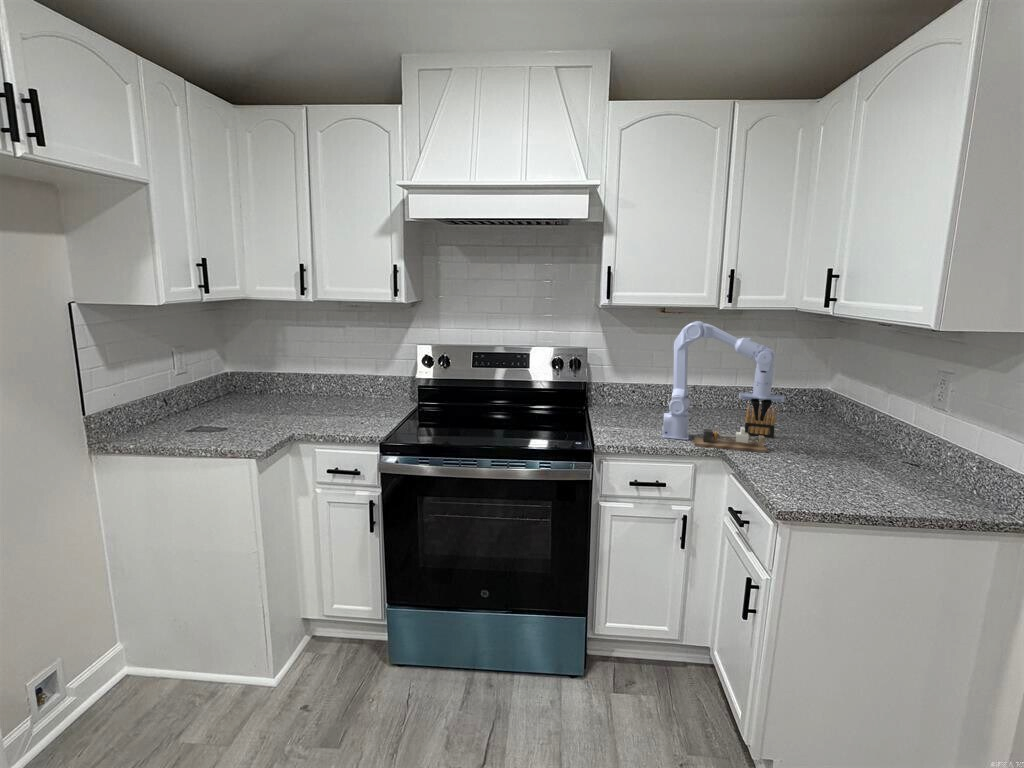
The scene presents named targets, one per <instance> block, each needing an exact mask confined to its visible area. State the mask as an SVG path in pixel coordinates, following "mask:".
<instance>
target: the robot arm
mask: <svg viewBox="0 0 1024 768" xmlns="http://www.w3.org/2000/svg"><path fill="white" fill-rule="evenodd" d="M701 338H703V339H711V338H712V339H715V340H717V341H720V342H722V343H724V344H727V345H729V346H731V347H733V348H734V350H735V353H737V354H740V355H741V356H743V357H745V358H748V359H750V360H752V361H754V360H755V362H756V366H755V370H754V380H753V388H752V389H753V390H752V392H739V393H738V399H739V400H750V402H751V405H752V408H753V409H754V413H755V420H756V421H758V411H759V406H761V408H760V420H761V421H763V419H764V416H765V417H766V415H767V410H768V409H769V407H770V408H771V406H772V405H773V404H772V402H778V403H779V402H781V403H785V399H786V398H785V396H784V395H777V394H772V387H773V386H772V384H773V377H774V376H773V375H774V362H775V358H776V353H775V351H774V349H772V348H770V347H767V346H765V345H764V344H762V343H761V344H759V343H757V342H756V341H752V338H750V337H747V338H746V337H741V338H738V337H736V336H734V335H732V334H730V333H728V332H726V331H725V330H722V329H720V328H718V327H717V326H714V325H712V324H710V323H705V322H703V321H701V320H695V321H692V322H690V323H688V324H687V325H686V326H684V327H683V328H682V329H681V331H680V333H679V334H678V335H677V337H676V338H675V340H674V341H673V383H672V384H673V386H672V387H673V389H672V393H671V400H670V402H669V403H668V409H669V411H668V412H664V413H663V423H662V425H663V426H662V427H661V432H662V436H661V437H662V438H663V439H673V440H675V439H676V440H685V441H687V440H690V438H689V437H690V436H689V433H688V431H689V421H690V412H689V411H688V409H689V408H690V407H691V405H692V401H691V398H690V397H689V390H688V362H689V361H688V360H689V359H688V356H689V355H688V353H689V346H691V345H692V344H693V343H694V342H695V341H697V340H700V339H701ZM760 401H761V403H760Z"/></svg>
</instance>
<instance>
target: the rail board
mask: <svg viewBox="0 0 1024 768" xmlns="http://www.w3.org/2000/svg"><path fill="white" fill-rule="evenodd" d="M702 436H703V437H702ZM702 436H693V442H694V447H701V448H711V449H712V448H713V449H718V450H719V449H722V450H732V451H740V452H741V451H742V452H753V453H761V452H763V453H762V454H768V449H767V447H766V445H765V443H766V442H765V440H766V439H765V437H764V436H761V435H759V437H755V436H749V439H748V443H746V442H736V440H735V438H736V435H732V434H723V433H718V430H714V431H713V429H707V428H704V429H703V435H702ZM722 438H723V439H722Z"/></svg>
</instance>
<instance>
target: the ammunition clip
mask: <svg viewBox="0 0 1024 768" xmlns="http://www.w3.org/2000/svg"><path fill="white" fill-rule="evenodd" d="M760 415H761V405H759V411H758V421H756V420H755V413H754V409H753V407H752V409H751V405H750V404H748V406H747V408H746V414H745V420H744V426H743V427H744V428H745V433H748V434H749V435H750V436H749V437H755V436H758V437H757V438H759V435H761V436H764V437H767V439H774V437H775V426H776V408H775V406H773V407H772V410H771V406H770V407H769V409H768V410H767V412H766V414H765V416H764V419H763V421H761V420H760Z"/></svg>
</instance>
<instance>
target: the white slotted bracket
mask: <svg viewBox="0 0 1024 768" xmlns="http://www.w3.org/2000/svg"><path fill="white" fill-rule="evenodd" d="M744 427H745V426H740V431H736V432H735V436H736V438H734V440H736V442H746V443H748V442H749V440H748V439H749V437H750V436H749V434H748V433H745V428H744Z"/></svg>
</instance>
